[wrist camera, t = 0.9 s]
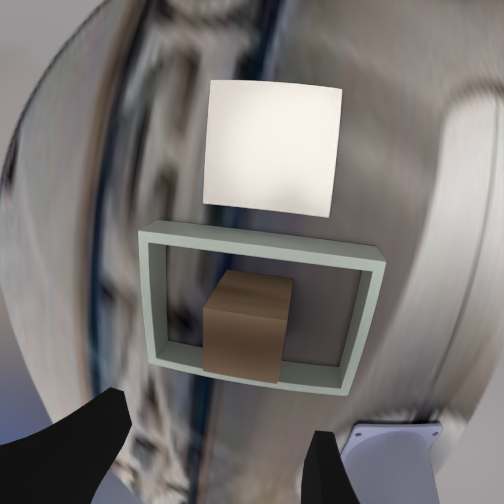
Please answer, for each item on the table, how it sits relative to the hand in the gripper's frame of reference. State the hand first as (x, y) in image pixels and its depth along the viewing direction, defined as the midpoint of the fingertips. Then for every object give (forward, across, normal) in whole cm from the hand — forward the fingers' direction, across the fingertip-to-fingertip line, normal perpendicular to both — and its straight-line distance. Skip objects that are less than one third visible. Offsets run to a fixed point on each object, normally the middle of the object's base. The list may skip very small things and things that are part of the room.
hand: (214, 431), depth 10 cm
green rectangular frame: (+10, 0, 0) cm, 10 cm away
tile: (+10, 0, -10) cm, 14 cm away
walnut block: (+10, 0, 0) cm, 10 cm away
